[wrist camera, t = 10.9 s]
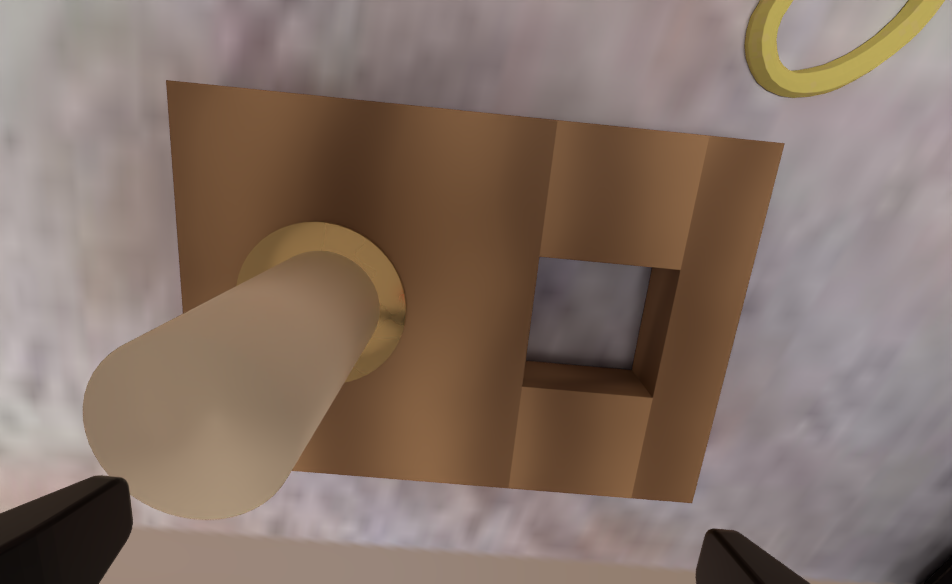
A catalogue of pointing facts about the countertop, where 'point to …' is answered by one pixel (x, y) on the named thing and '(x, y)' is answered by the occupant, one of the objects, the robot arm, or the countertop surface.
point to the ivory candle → (231, 387)
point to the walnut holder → (489, 276)
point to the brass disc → (357, 250)
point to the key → (836, 72)
